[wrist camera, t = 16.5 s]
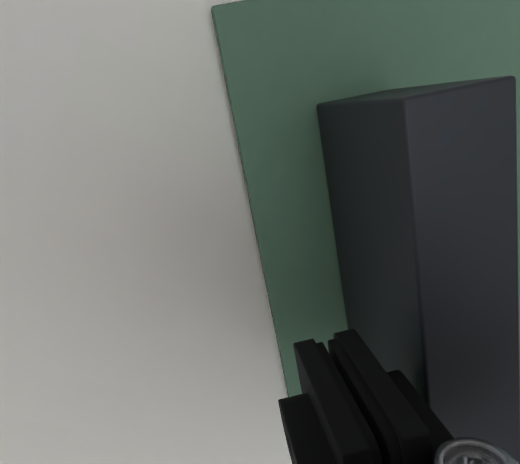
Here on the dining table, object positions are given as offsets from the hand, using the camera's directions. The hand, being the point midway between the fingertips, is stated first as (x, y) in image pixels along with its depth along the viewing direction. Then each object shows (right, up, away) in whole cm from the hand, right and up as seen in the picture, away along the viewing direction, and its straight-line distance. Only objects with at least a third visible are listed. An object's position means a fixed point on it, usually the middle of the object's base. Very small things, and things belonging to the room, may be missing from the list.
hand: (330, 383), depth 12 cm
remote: (+3, +1, +1) cm, 3 cm away
